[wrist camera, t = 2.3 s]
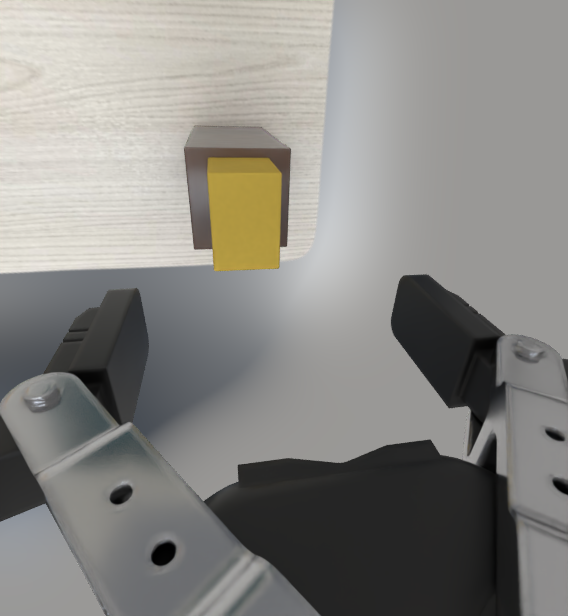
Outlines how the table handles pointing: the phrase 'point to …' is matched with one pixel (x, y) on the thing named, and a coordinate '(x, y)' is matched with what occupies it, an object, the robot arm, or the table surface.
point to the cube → (244, 213)
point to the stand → (229, 146)
